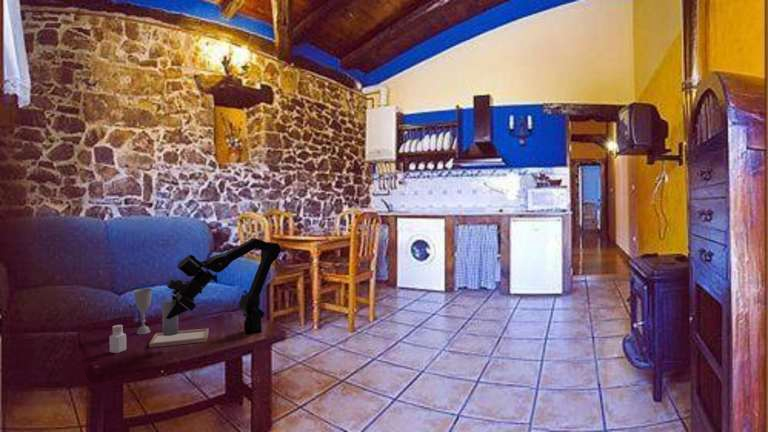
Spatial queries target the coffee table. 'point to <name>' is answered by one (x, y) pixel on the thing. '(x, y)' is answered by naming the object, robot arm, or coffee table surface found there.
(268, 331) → the coffee table surface
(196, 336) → the serving tray
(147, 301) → the chalice
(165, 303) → the grey upright block
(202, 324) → the coffee table surface
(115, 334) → the pepper shaker
